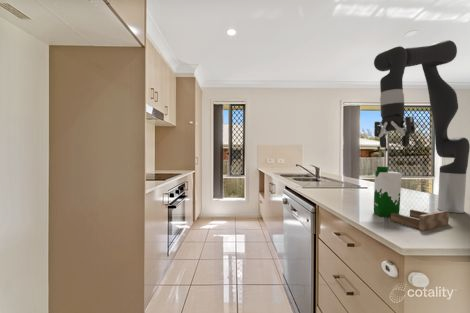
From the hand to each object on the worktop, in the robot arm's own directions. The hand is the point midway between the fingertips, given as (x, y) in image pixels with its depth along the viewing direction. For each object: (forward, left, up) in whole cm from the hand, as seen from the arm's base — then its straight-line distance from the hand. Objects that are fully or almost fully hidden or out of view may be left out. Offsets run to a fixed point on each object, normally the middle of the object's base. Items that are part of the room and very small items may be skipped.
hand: (393, 147), depth 94 cm
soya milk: (-8, -7, -28) cm, 30 cm away
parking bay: (-8, +4, -28) cm, 30 cm away
